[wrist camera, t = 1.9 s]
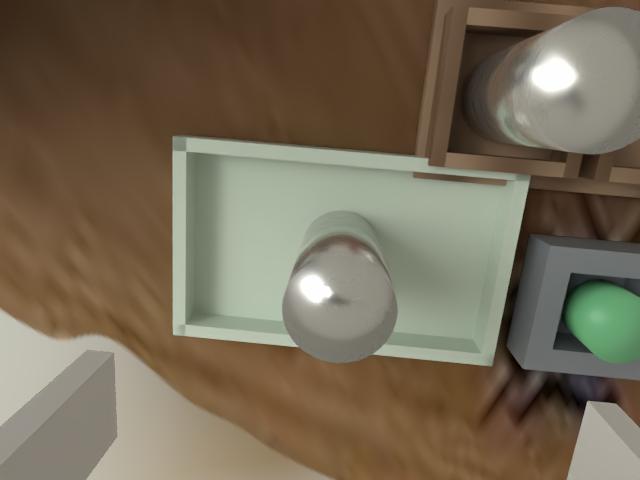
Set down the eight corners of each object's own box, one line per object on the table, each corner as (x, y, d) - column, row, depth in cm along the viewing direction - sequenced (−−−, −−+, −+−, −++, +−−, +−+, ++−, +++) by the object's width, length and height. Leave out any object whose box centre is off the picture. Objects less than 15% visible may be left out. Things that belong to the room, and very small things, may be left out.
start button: (555, 335, 28) (579, 359, 26) (569, 275, 27) (595, 294, 25) (618, 341, 28) (650, 366, 25) (635, 282, 27) (670, 301, 24)
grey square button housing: (506, 345, 31) (522, 368, 28) (529, 233, 29) (550, 245, 26) (623, 357, 31) (653, 381, 28) (656, 244, 29) (691, 258, 26)
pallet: (411, 175, 28) (419, 182, 25) (434, 1, 26) (447, -16, 23) (702, 201, 28) (746, 211, 25) (755, 26, 25) (812, 12, 22)
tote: (185, 318, 32) (172, 334, 29) (187, 135, 28) (172, 136, 26) (480, 347, 31) (492, 366, 29) (515, 163, 28) (532, 167, 25)
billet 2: (454, 138, 26) (518, 148, 17) (468, 47, 25) (546, 1, 16) (539, 145, 26) (653, 160, 17) (558, 54, 25) (693, 12, 15)
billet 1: (299, 281, 30) (278, 357, 20) (305, 207, 29) (285, 250, 19) (374, 288, 30) (390, 368, 20) (383, 214, 28) (404, 261, 19)
